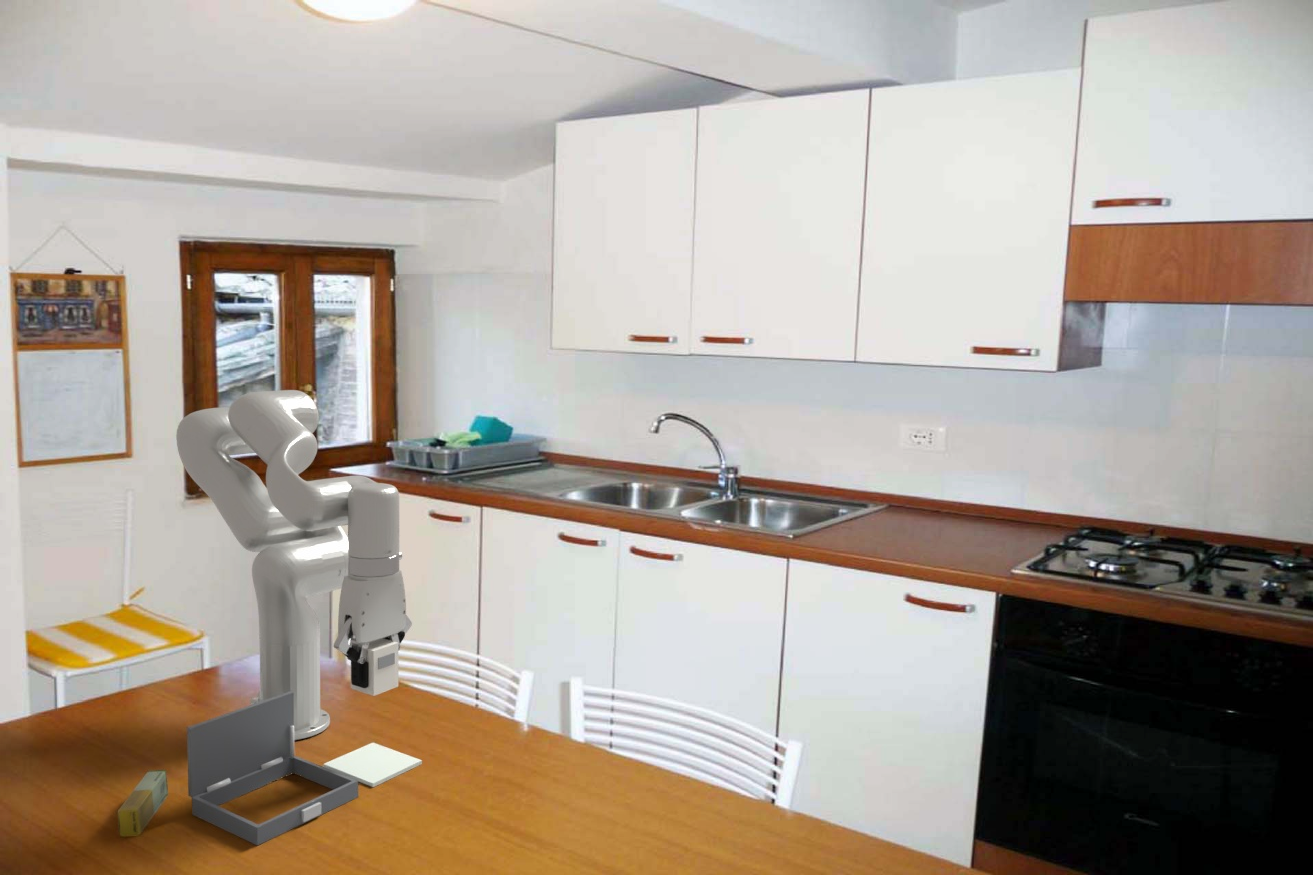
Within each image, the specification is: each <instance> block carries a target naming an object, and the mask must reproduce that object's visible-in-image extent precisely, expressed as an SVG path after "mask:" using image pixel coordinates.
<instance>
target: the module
mask: <svg viewBox="0 0 1313 875" xmlns="http://www.w3.org/2000/svg"><path fill="white" fill-rule="evenodd" d="M359 648H360V645H358V647H357V651H358V652H359ZM365 662H368V671H369V685H368V687H367V688H361V687H358V686H355V685H352V683H351V682H350V689H351V690H354V691H358V692H360V693H364V694H366V695H370V696H373V697H374V696H378V695H380V694H383V693H384V692H388V691H391V690H392V689H395V688H398V687H399V651H398V642H394V641H391V640H387V639H383V638H382V639H379V640H376V641H373V642H370V643H369V646H368V651H367V655H366V660H365Z"/></svg>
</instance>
